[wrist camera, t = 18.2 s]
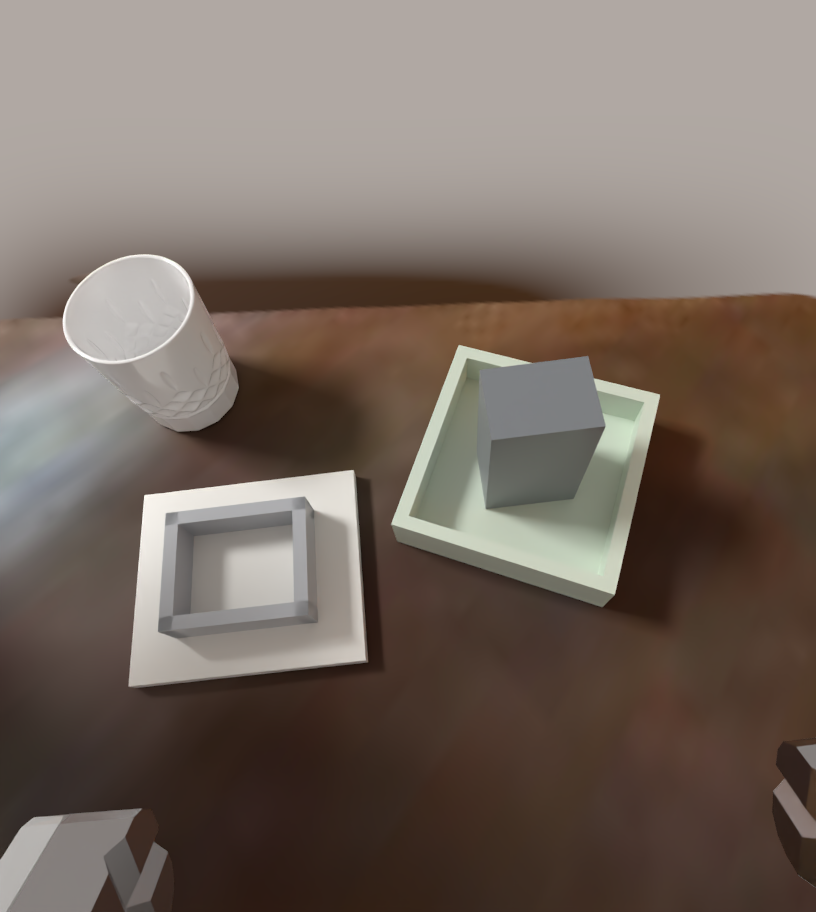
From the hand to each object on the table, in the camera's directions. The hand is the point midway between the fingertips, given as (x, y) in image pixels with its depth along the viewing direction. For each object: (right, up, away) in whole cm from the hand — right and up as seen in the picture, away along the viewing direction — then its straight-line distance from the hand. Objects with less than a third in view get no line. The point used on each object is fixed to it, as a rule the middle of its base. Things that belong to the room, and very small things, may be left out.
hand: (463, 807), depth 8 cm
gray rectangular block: (+7, +3, +32) cm, 33 cm away
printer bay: (-11, -3, +32) cm, 34 cm away
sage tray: (+7, +3, +33) cm, 34 cm away
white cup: (-16, +9, +38) cm, 43 cm away
